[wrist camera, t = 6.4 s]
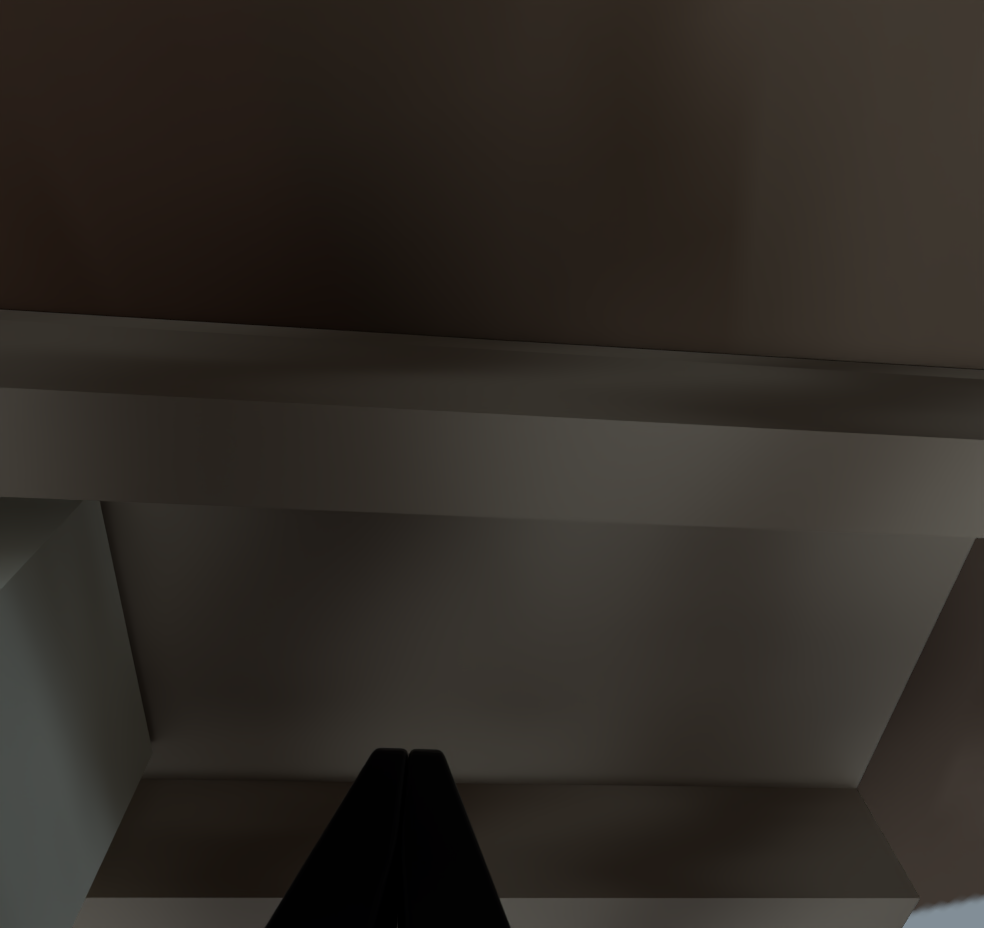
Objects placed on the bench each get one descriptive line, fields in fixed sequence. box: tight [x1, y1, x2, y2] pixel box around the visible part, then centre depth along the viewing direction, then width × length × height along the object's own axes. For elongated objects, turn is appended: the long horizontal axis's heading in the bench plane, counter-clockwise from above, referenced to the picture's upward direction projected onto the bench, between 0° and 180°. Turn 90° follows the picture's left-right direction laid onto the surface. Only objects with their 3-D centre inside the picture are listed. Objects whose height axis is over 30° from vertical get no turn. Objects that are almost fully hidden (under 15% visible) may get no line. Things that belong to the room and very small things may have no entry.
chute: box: [0, 310, 984, 928], centre depth 10 cm, size 20×9×2 cm, turn 85°
